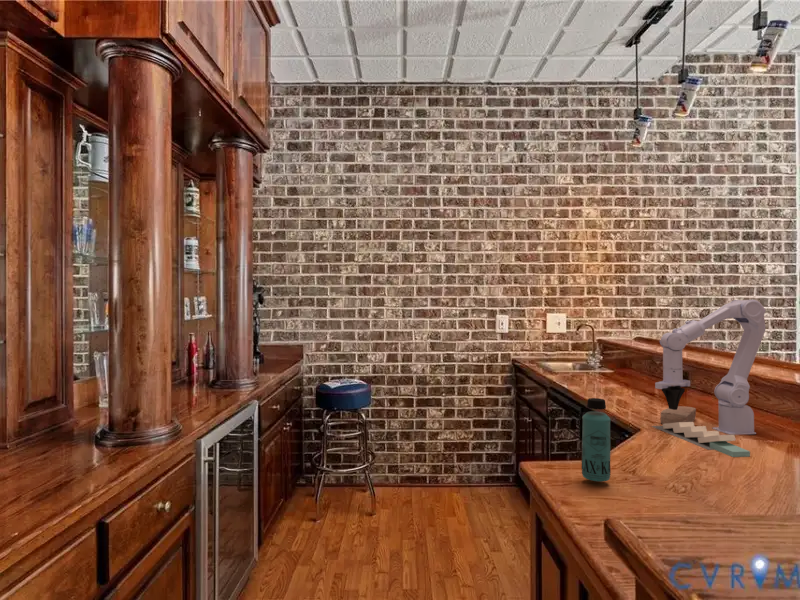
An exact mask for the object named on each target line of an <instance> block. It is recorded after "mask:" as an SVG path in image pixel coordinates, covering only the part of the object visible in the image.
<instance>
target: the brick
mask: <svg viewBox="0 0 800 600" xmlns="http://www.w3.org/2000/svg"><path fill="white" fill-rule="evenodd" d="M696 413H697V408H696V407H692V406H683V405H682V406H681V405H678V408H677V410H673V409H669V406H668V407H667V408H665V409H663V410H661V411H660V421H659V422H660V424H662V425H663V424H667V423H676V422H694V421H695V419H696Z"/></svg>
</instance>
